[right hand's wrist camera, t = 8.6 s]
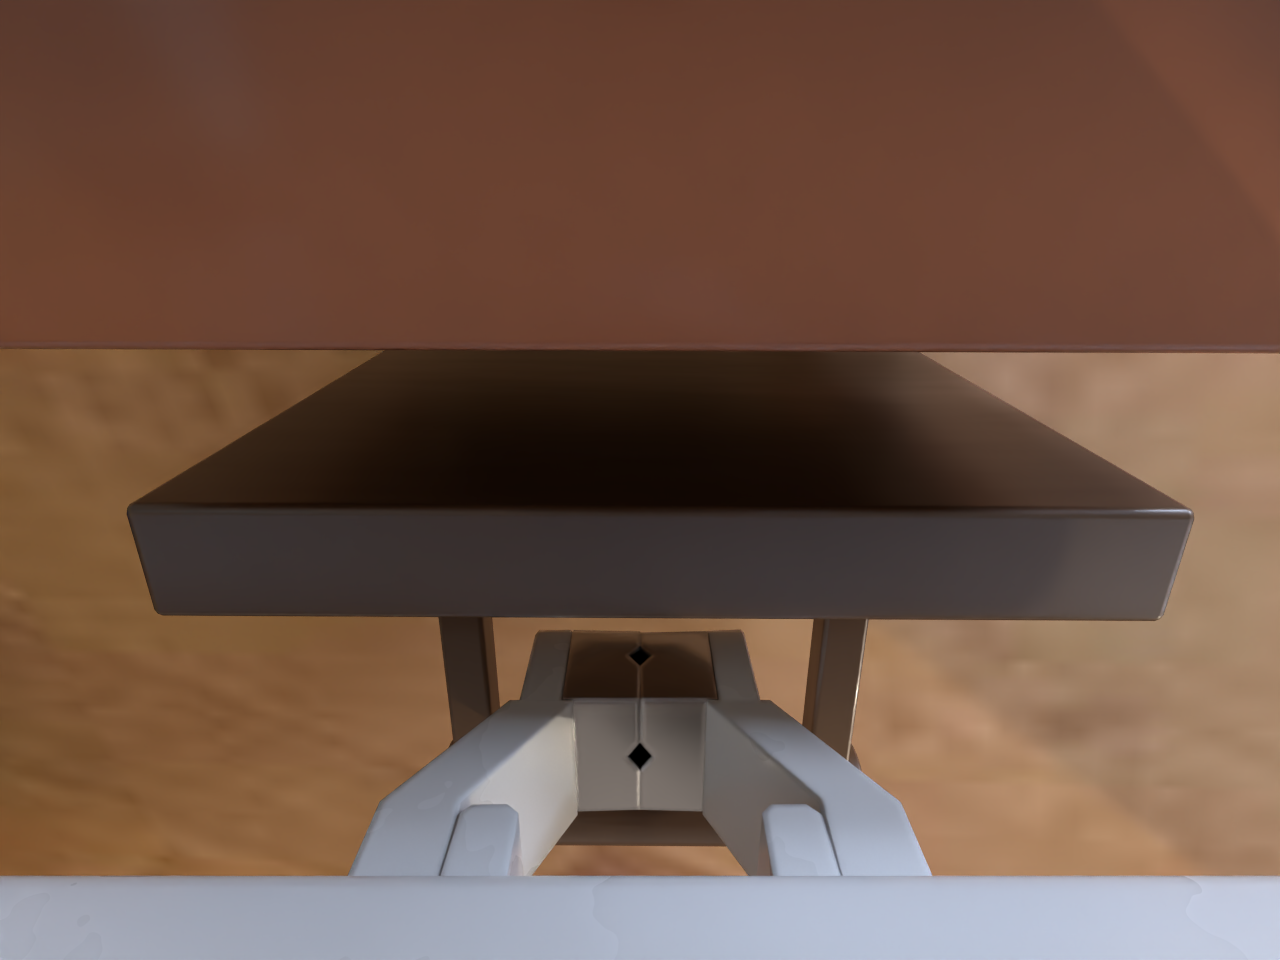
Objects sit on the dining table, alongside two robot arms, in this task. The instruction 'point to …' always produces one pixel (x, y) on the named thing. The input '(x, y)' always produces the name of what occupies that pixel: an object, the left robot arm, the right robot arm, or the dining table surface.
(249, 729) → the dining table surface
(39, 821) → the dining table surface
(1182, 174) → the cabinet
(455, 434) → the drawer
